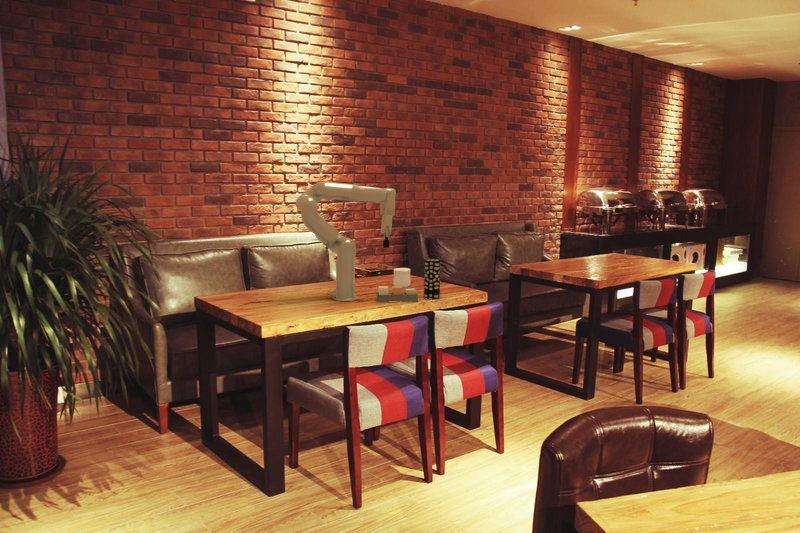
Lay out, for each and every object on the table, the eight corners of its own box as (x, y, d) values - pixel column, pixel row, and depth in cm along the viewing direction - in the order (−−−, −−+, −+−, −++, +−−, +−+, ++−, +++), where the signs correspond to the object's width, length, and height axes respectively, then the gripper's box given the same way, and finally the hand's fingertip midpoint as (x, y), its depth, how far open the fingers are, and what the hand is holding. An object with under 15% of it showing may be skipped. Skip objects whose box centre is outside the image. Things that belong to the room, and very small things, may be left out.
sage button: (406, 300, 327) (406, 290, 326) (405, 298, 331) (405, 288, 331) (415, 299, 327) (415, 290, 326) (414, 297, 332) (414, 288, 331)
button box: (376, 302, 324) (377, 295, 324) (376, 299, 331) (376, 292, 330) (417, 301, 326) (418, 295, 326) (416, 299, 333) (416, 292, 333)
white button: (378, 297, 325) (378, 288, 324) (378, 296, 330) (378, 286, 329) (388, 297, 326) (388, 288, 325) (387, 295, 330) (387, 286, 329)
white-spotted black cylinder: (438, 299, 332) (439, 261, 329) (422, 299, 333) (423, 260, 330) (440, 296, 340) (441, 259, 337) (425, 295, 341) (425, 258, 338)
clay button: (392, 297, 326) (392, 288, 325) (391, 295, 330) (391, 286, 330) (402, 297, 326) (402, 287, 326) (401, 295, 331) (401, 286, 330)
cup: (391, 286, 365) (391, 269, 364) (396, 283, 375) (396, 267, 373) (407, 288, 363) (407, 270, 361) (412, 284, 372) (412, 268, 371)
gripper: (379, 211, 340) (378, 245, 343) (380, 212, 325) (379, 249, 328) (394, 211, 341) (392, 246, 343) (395, 213, 326) (394, 249, 329)
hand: (386, 247), depth 336 cm, fingers closed
